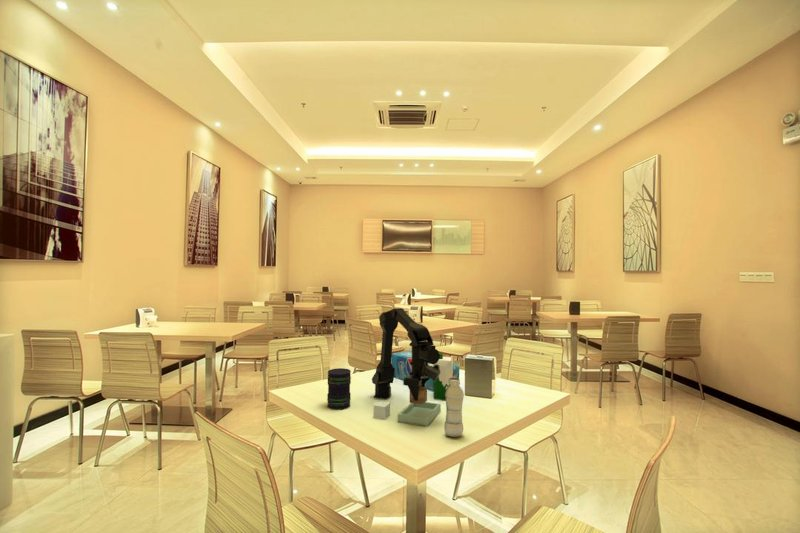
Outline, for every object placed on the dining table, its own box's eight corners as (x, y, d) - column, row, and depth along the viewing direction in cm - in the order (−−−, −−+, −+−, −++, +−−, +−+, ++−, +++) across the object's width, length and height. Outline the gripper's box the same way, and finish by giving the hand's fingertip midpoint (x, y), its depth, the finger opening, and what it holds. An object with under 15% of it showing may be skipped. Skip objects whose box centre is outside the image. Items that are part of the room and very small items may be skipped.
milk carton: (434, 393, 186) (434, 351, 187) (453, 395, 184) (453, 352, 185) (431, 399, 178) (432, 355, 178) (451, 401, 176) (452, 356, 176)
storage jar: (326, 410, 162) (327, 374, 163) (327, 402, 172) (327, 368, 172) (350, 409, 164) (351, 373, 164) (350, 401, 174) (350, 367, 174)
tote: (397, 422, 150) (397, 414, 150) (413, 407, 167) (413, 400, 167) (427, 426, 146) (427, 418, 146) (440, 411, 163) (440, 403, 163)
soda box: (390, 376, 217) (390, 353, 218) (409, 373, 226) (410, 350, 226) (440, 395, 185) (440, 367, 186) (460, 390, 194) (460, 363, 194)
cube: (373, 418, 155) (373, 405, 155) (378, 413, 159) (378, 401, 159) (385, 419, 153) (385, 406, 153) (390, 415, 158) (390, 403, 158)
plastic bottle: (442, 432, 141) (443, 376, 142) (461, 431, 142) (461, 376, 142) (446, 439, 135) (446, 381, 135) (465, 439, 135) (465, 381, 136)
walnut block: (422, 404, 151) (422, 391, 151) (409, 402, 153) (409, 389, 153) (427, 400, 156) (427, 387, 157) (414, 398, 158) (414, 386, 159)
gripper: (431, 366, 144) (430, 408, 143) (444, 356, 161) (444, 394, 161) (403, 363, 148) (402, 404, 147) (419, 353, 165) (418, 390, 165)
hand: (418, 398), depth 155 cm, fingers closed on walnut block, 5 cm apart
